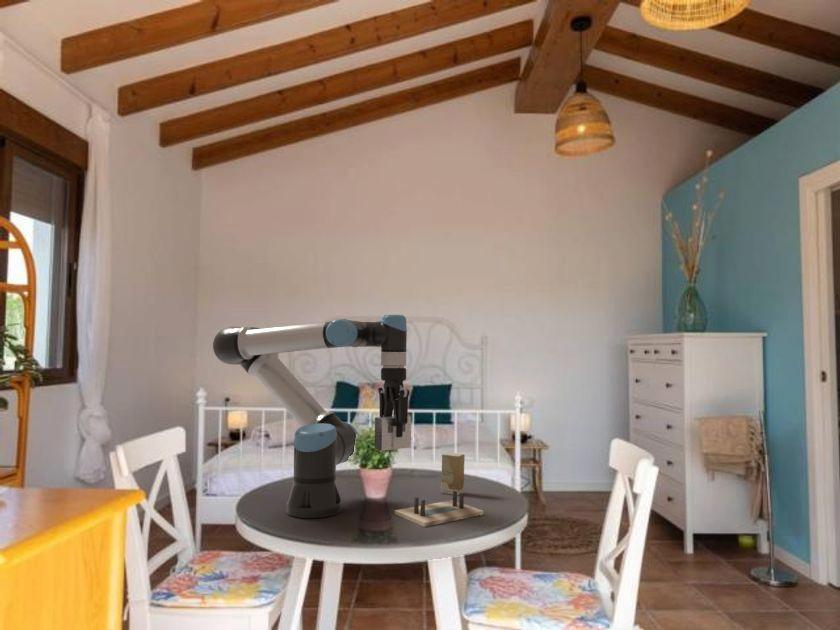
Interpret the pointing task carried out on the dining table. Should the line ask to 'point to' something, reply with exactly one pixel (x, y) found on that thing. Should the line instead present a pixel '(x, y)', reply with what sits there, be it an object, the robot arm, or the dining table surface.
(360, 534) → the dining table surface
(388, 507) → the dining table surface
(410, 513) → the pin tray
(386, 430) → the drive
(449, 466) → the skincare box
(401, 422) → the robot arm
